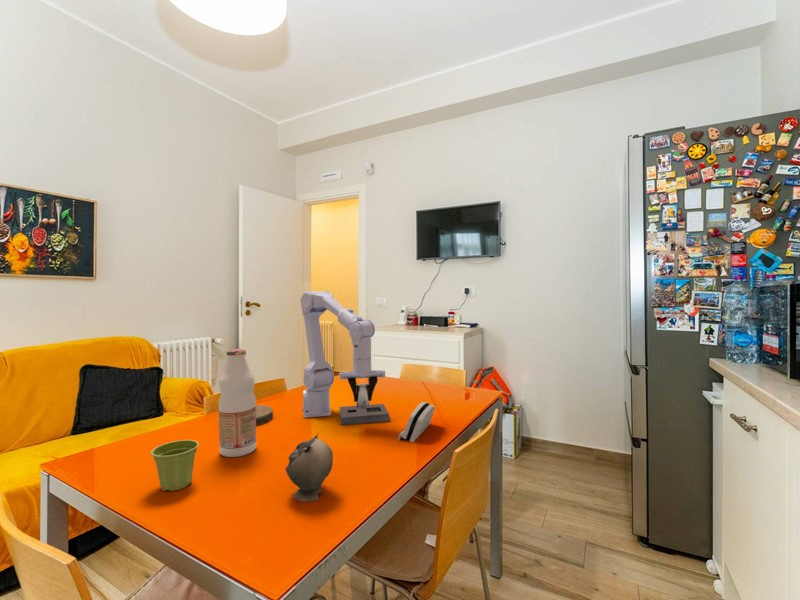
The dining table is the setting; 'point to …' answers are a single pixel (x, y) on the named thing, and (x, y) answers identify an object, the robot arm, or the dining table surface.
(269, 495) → the dining table surface
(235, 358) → the fruit juice
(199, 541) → the dining table surface
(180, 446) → the plant pot
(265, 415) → the grey round disc
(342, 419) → the fitting block
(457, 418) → the dining table surface
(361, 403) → the cylinder
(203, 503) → the dining table surface
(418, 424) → the white black-striped wedge
